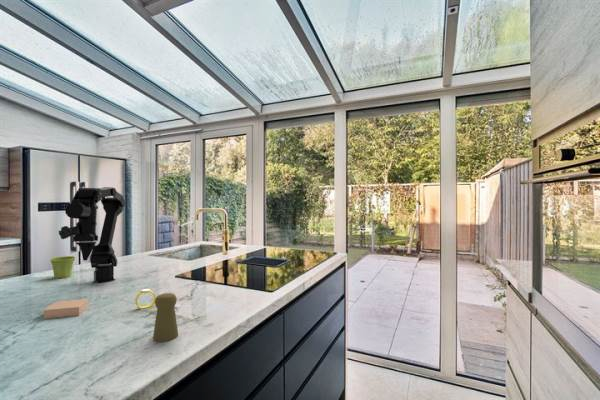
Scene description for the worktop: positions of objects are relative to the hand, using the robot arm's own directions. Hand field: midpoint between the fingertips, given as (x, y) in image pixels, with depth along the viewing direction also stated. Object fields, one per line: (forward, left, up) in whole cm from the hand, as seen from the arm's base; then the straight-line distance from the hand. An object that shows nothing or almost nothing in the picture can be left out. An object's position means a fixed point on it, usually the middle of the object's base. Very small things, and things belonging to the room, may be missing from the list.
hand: (85, 260), depth 117 cm
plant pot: (-1, -36, -13) cm, 38 cm away
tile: (+8, +17, -11) cm, 22 cm away
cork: (-2, +60, -12) cm, 62 cm away
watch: (-8, +34, -13) cm, 37 cm away
